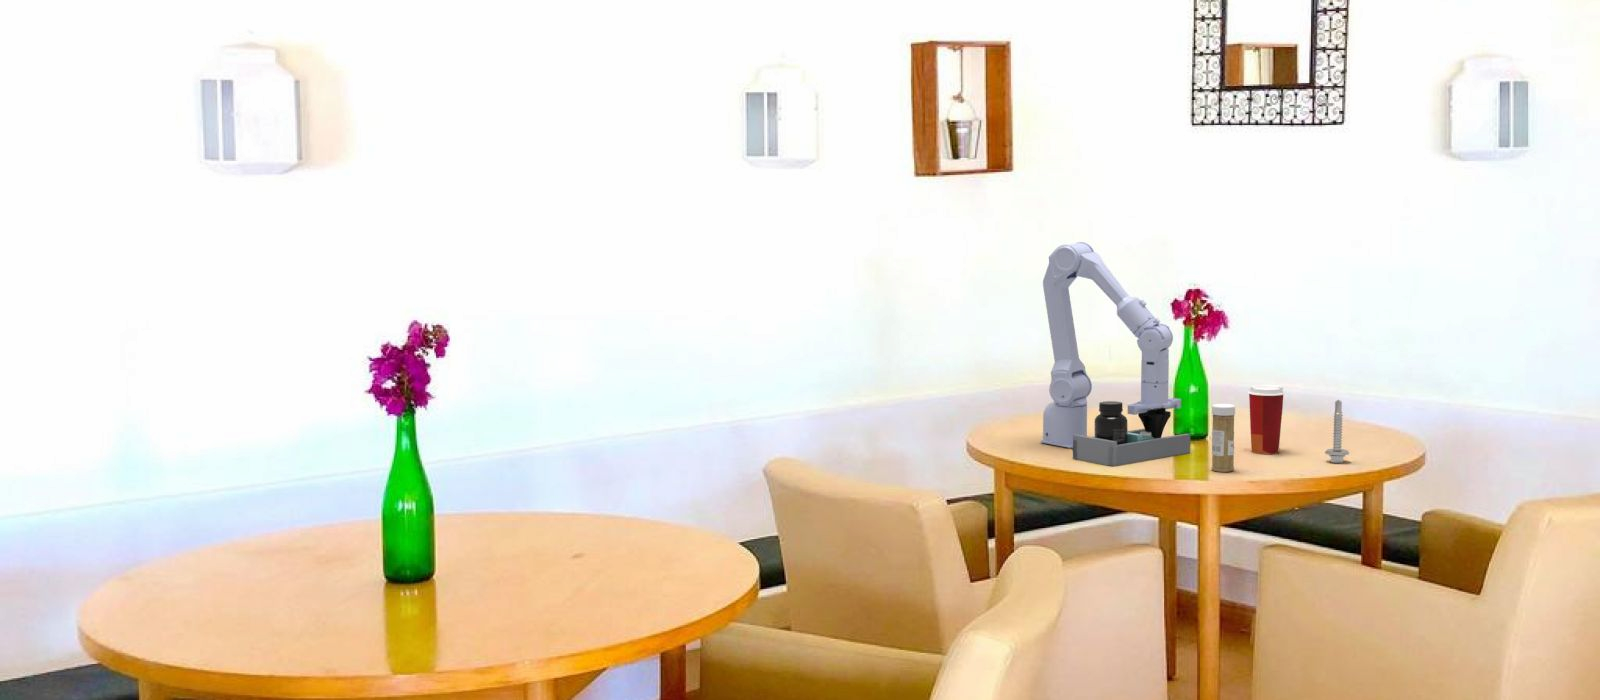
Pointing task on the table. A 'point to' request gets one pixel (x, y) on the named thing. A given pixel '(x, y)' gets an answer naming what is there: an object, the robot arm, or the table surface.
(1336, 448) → the screw
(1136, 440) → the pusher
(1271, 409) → the paper cup
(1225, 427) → the brown spice jar
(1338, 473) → the table surface
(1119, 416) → the supplement bottle
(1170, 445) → the grey tray
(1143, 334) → the robot arm
